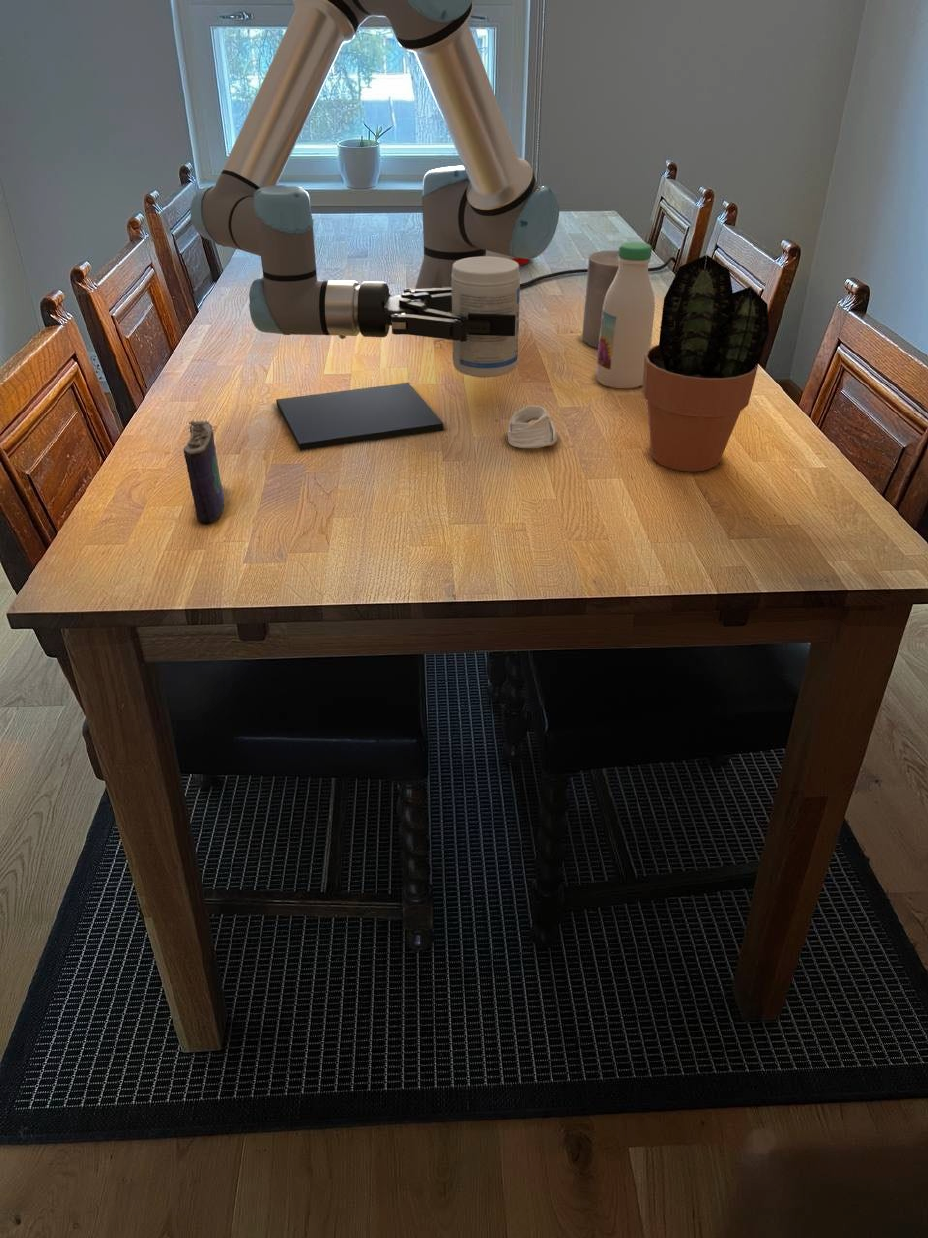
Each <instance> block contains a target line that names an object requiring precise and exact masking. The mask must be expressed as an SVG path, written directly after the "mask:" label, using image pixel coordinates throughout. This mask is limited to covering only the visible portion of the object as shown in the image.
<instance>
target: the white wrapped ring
mask: <svg viewBox="0 0 928 1238" xmlns="http://www.w3.org/2000/svg"><path fill="white" fill-rule="evenodd" d="M507 426H508V427H507V440H508V443H509V444H510V445H511V446H512V447H514V448H519V449H535V448H536V449H538V448H544V447H546V446H554V445H555V444H556V443H557V441H558V440H557V438H558V437H557V431H556V429H555V424H554V422H553V420H552V419H551V416H550V414H549V412H548V411H547V410H546V409H545V408H544V407H542V406H540V405H527V406H525V407H522V408H521V409H519V410H516V411H515V412H514V413H513V414H512V416H511V417H510V419H509V422H508V425H507Z"/></svg>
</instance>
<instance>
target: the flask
mask: <svg viewBox="0 0 928 1238" xmlns="http://www.w3.org/2000/svg"><path fill="white" fill-rule="evenodd" d="M188 424H189V433H190V437H189V440H188V442H187V443H186V444H185V446H184V447H183V456H184V459H185V460H184V461H185V464H186V470H187V473H188V479H189V488H190V491H191V495H192V499H193V505H194V509H195V515H196V518H197V523H198V524H200V525H201V526H211V525H215V524H216V523H217V522H219V520H220V519H221V517H222V515H223V512H224V510H225V497H224V488H223V484H222V480H221V479H222V478H221V474H220V469H219V468H220V467H219V462H218V457H217V456H218V455H217V448H216V445H215V436H214V431H213V427H212V424H211V423H210V422H209V421H208V420H207V419H205V420H196V421H195V420H194V419H193V420H191V421H189V422H188Z"/></svg>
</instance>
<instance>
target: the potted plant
mask: <svg viewBox="0 0 928 1238" xmlns="http://www.w3.org/2000/svg"><path fill="white" fill-rule="evenodd" d="M733 291H734V290H733V285H732V279H731V271H730V269H729V268H728V267H726V266H724V265H722V263H720V262H719V261H717V260H716V259H714V258H713V257H711V256H710V255H708V254H705V255H703V256H701V257H698V258H696V259H694V260H691V261H689V262H687V263H684V264H683V265H680V266H679V267H678V269H677V271H676V273H675V276H674V277H673V279H672V281H671V283H670V286H669V287H668V290H667V291H666V294H665V295H664V298H663V306H662V311H661V312H662V313H661V322H660V327H659V329H660V331H659V341H658V344H657V345H654V346H652V347H650V349H649V350H648V351H647V352H646V354H645V358H644V372H643V384H642V385H641V393H642V395H643V398H644V399H645V400H646V404H647V417H648V430H649V431H648V432H649V446H650V455H651V457H652V459H653V460H654V461H655V462H656V463H657V464H659V465H661V466H663V467H665V468H667V469H671V470H675V471H681V472H703V471H708V470H710V469H713V468H716V466H717V465H718V464H720V462H721V459H722V458H723V455H724V453H725V450H726V447H727V445H728V443H729V441H730V438H731V435H732V433H733V431H734V428H735V426H736V424H737V421H738V419H739V416H740V414H741V412H742V411H743V410H744V409H746V408H747V407H748V406H749V405H750V404H749V403H750V400H751V395H752V391H753V388H754V384H755V380H756V375H757V371H758V367H759V364H760V362H761V358H762V356H763V352H764V349H765V346H766V342H767V340H768V336H769V333H770V329H769V328H770V325H769V305H768V303H767V302H766V301H765V300H764V298H763V297H761V296H760V295H759V294H758V292H756V290H754V289H753V287H752V286H748V287H746V288H743V289H741V290H738V291H735V292H733Z"/></svg>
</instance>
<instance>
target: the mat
mask: <svg viewBox="0 0 928 1238" xmlns="http://www.w3.org/2000/svg"><path fill="white" fill-rule="evenodd" d="M275 402H276V407H277V409H278V411H279V413H280V414H281V417H282V419H283V421H284V422H285V425H286V426H287V428H288V430H289V432H290V434H291V436H292V438H293V440H294V442H295V444H296V446H297V448H298V450H299V451H301V452H302V451H309V450H314V449H315V450H316V449H321V448H327V447H328V448H330V447H335V446H341V445H350V444H355V443H362V442H363V443H364V442H368V441H369V442H371V441H376V440H383V439H390V438H398V437H405V436H412V435H418V434H425V433H432V432H433V433H434V432H440V431H444V422H443V421H442V419H440V418H439V416H438V415H437V414H436V413H435V412H434V411H433V410H432V409H431V407H430V406H429V405H428V404H427V403H426V401H425V400H424V399H423V398H422V396H421V395H419V393H418V392H417V390H415V389H414V387H413V386H412V385H411V384H410V383H409V382H402V383H395V384H387V385H379V386H378V385H377V386H371V387H363V388H354V389H347V390H339V391H332V392H330V391H329V392H323V393H315V394H307V395H300V396H291V397H284V398H276V400H275Z"/></svg>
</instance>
